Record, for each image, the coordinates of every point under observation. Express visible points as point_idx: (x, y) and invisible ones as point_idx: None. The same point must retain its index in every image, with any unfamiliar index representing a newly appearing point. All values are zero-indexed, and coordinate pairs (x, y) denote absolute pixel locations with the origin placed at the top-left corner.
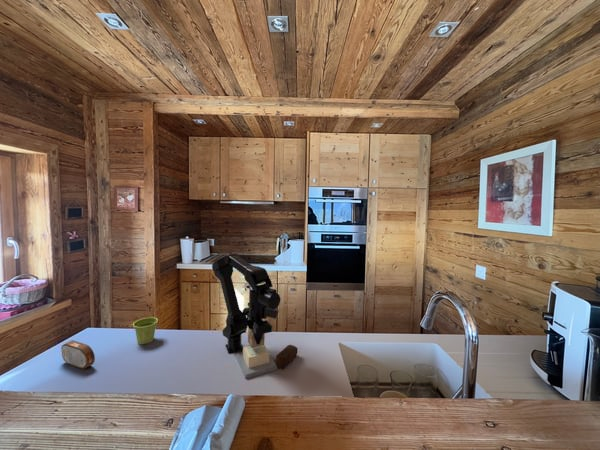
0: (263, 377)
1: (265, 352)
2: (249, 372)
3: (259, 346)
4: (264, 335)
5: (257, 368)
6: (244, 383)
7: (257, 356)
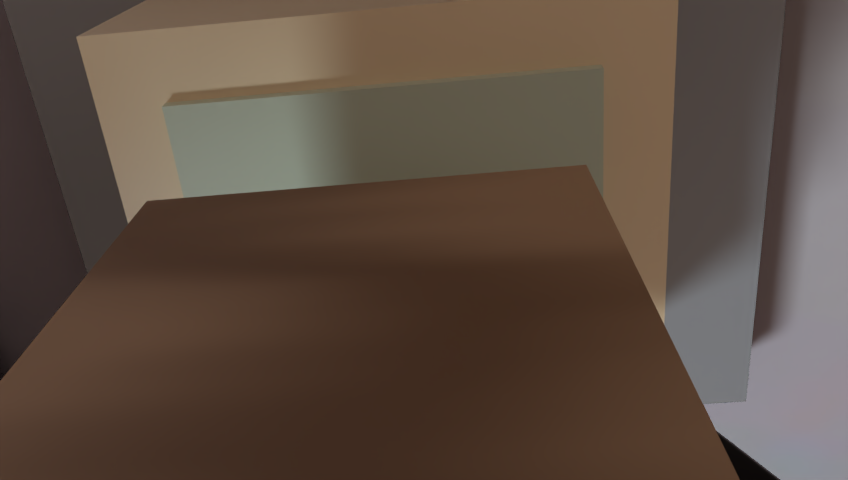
0: (841, 116)
1: (635, 88)
2: (723, 341)
3: (307, 176)
4: (677, 361)
5: (690, 208)
6: (809, 385)
7: (660, 283)
